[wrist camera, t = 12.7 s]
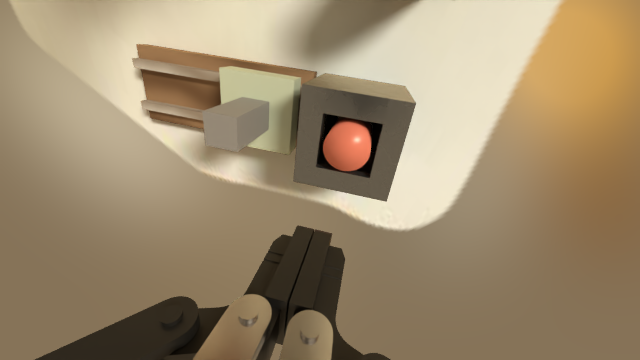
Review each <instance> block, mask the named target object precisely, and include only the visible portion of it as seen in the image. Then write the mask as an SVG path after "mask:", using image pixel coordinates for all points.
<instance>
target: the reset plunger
mask: <svg viewBox="0 0 640 360" xmlns="http://www.w3.org/2000/svg"><path fill="white" fill-rule="evenodd" d="M372 131H373V128H372V123H371V122H369V121H363V120H358V119H352V118H347V117H341V116H339V117H338V119H337V120H336V122H335V123H334V125H333V127H332V128H331V130H330V132H329V133H328V135H327V137H326V138H325V141H324V144H323V152H324V155H325V158H326V160H327V161H328V162H329V164H331V165H332V166H333V167H334V168H336V169H339V170H342V171H353V170H356V169H359V168H360V167H362V166H363V165H364V164H365V163H366V162H367V160H368V158H369V156H370V151H371V141H372Z"/></svg>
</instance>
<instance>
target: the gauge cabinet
mask: <svg viewBox="0 0 640 360" xmlns="http://www.w3.org/2000/svg"><path fill="white" fill-rule="evenodd" d="M415 105H416V102H415V101H414V99H413V98H412V96H411V95H410V93H409V91H408V90H407V88H406V87H405V86H401V85H395V84H389V83H383V82H376V81H370V80H364V79H358V78H351V77H345V76H339V75H333V74H327V73H325V74H323V75H321V76H318V77H316V78H314V79H312V80H310V81H308V82H305V83H303V84H302V90H301V101H300V113H299V124H298V135H297V147H296V158H295V169H294V182H299V183H303V184H308V185H313V186H317V187H322V188H326V189H331V190H336V191H340V192H345V193H349V194H354V195H359V196H363V197H368V198H372V199H377V200H382V201H386V202H387V198H388V195H389V192H390V188H391V185H392V182H393V178H394V175H395V172H396V168H397V165H398V162H399V158H400V155H401V152H402V148H403V145H404V142H405V138H406V135H407V132H408V128H409V125H410V122H411V118H412V115H413V112H414V108H415ZM327 114H330V115H336V116H341V117H347V118H352V119H358V120H363V121H369V122H375V123H380V124H382V128H381V132H380V136H379V140H378V144H377V148H376V152H371V151H370V156H369V158H368V160H367V162H366V163H365V164H364V165H363V166H362V167H360V168H359V169H356V170H353V171H342V170H339V169H336V168H334V167H333V166H332V165H331V164H329V162H328V161H327V160H326V158H325V155H324V152H323V144H324V142H323V137H324V130H325V123H326V115H327Z"/></svg>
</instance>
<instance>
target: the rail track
mask: <svg viewBox="0 0 640 360" xmlns="http://www.w3.org/2000/svg"><path fill="white" fill-rule="evenodd" d="M136 45H137V50H138V55H139V58H132V60H133V65H134V67H135V68H140V69H141V71H142V76H143V81H144V86H145V92H146V97H147V100H143V101H141V104H142V109H146V110H149V112H150V118H152V119H157V120H162V121H167V122H172V123H177V124H182V125H187V126H192V127H197V128H202V129H204V124H203V113H202V111H204V110H207V109H210V108H213V107H215V106H218V105H221V92H220V74H219V68H220V67H228V66H234V67H240V68H246V69H252V70H258V71H264V72H270V73H276V74H282V75H289V76H295V77H301V87H300V98H299V110H298V122H297V133H296V145H295V147H297V135H298V124H299V113H300V101H301V90H302V84H303V83H305V82H308V81H310V80H312V79H314V78H316V75H317V72H314V71H308V70H302V69H296V68H289V67H283V66H277V65H271V64H264V63H258V62H252V61H246V60H240V59H233V58H227V57H221V56H215V55H208V54H202V53H196V52H190V51H184V50H177V49H171V48H165V47H159V46H153V45H146V44H136Z"/></svg>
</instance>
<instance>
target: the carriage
mask: <svg viewBox="0 0 640 360" xmlns="http://www.w3.org/2000/svg"><path fill="white" fill-rule="evenodd" d="M219 74H220V92H221V105H218V106H215V107H213V108H210V109H207V110H204V111H202V113H203V124H204V134H205V145H206V146H211V147H215V148H220V149H225V150H230V151H235V152H238V151H240V150H241V149H243V148H244V147H245V146H248V147H252V148H257V149H262V150H267V151H272V152H277V153H282V154H287V155H289V154H290V153H291V152H292V151H293V150H294V148H295V145H296V133H297V122H298V110H299V98H300V87H301V77H295V76H289V75H282V74H276V73H270V72H264V71H258V70H252V69H246V68H240V67H234V66H228V67H220V68H219Z"/></svg>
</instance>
